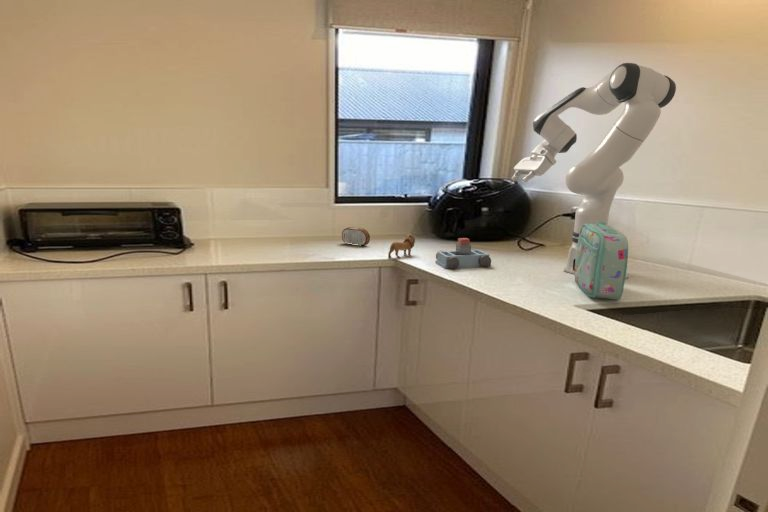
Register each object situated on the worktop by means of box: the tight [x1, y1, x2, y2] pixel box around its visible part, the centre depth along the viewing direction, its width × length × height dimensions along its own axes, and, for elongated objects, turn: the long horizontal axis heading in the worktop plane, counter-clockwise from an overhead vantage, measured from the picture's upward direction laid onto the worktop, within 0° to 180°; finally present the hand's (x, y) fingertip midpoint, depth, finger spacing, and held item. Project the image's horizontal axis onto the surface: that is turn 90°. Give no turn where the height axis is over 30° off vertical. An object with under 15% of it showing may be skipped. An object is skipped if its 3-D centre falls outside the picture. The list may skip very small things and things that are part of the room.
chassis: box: [435, 248, 492, 270], centre depth 186 cm, size 14×19×4 cm
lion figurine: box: [387, 233, 416, 259], centre depth 200 cm, size 15×5×9 cm, turn 132°
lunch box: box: [573, 221, 629, 301], centre depth 147 cm, size 27×10×21 cm, turn 171°
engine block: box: [455, 237, 472, 256], centre depth 185 cm, size 4×4×9 cm
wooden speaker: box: [341, 226, 371, 246], centre depth 226 cm, size 15×3×8 cm, turn 58°
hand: (518, 180), depth 201 cm, fingers open, 8 cm apart
